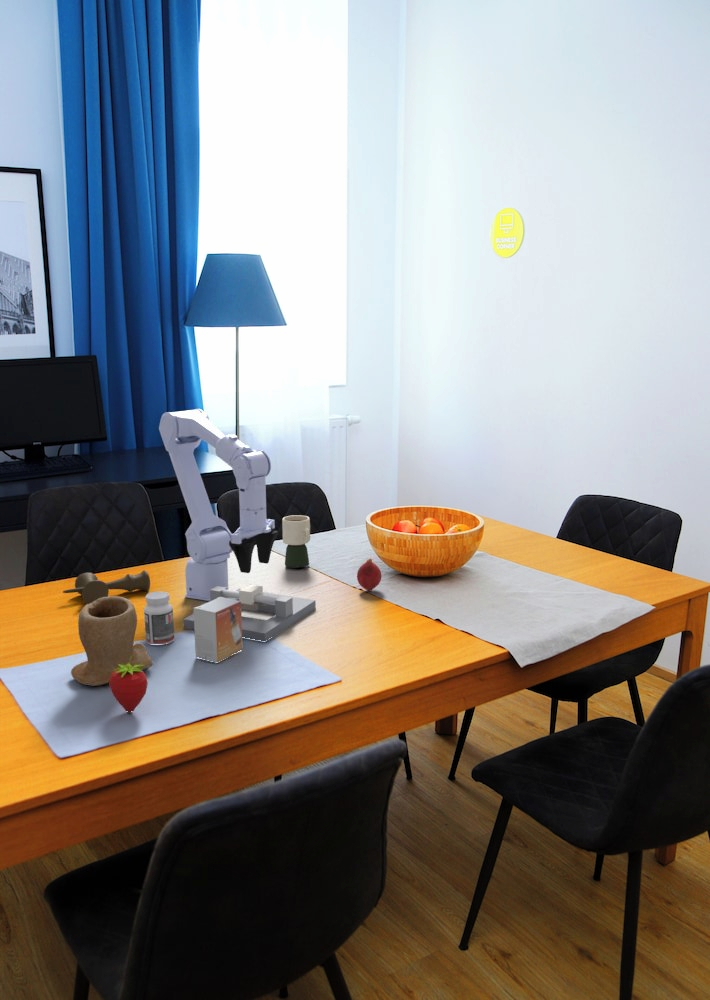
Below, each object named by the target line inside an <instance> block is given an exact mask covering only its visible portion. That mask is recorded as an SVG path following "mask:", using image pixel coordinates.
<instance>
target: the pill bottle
mask: <svg viewBox="0 0 710 1000" xmlns="http://www.w3.org/2000/svg"><path fill="white" fill-rule="evenodd" d="M170 600H171V599H170V593H169V592H167V591H162V590H161V591H152V592H148V593H147V594H146V595H145V603H146V605H145V606H144V608H143V617H144V627H145V628H144V629H145V631H144V632H145V641H147V642H146V643H147V644H148V643H149V644H148V645H150V644H166V643H169V644H171V643H173V642H174V641H173V640H175V626H174V625H175V623H174V611H173V610H174V609H173V605H172V604H171V603H170V602H169V601H170ZM172 641H173V642H172ZM170 642H171V643H170ZM166 645H167V644H166Z"/></svg>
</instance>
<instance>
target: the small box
mask: <svg viewBox="0 0 710 1000" xmlns="http://www.w3.org/2000/svg"><path fill="white" fill-rule="evenodd" d="M193 614H194V647H195V658H196V657H199V658H202V659H205V660H209V661H213V662H219V661H221V660H223V659H225V658H227V657H229V656H231V655H232V654H234V653H237V652H238V651H240V650H242V651H243V639H242V620H241V616H242V609H241V601H237V600H233V599H228V598H224V597H218V598H217V599H215V600H212V601H207V602H205V603H202V604H201V605H199V606H194V607H193ZM237 654H238V653H237ZM231 657H232V656H231ZM229 658H230V657H229ZM227 659H228V658H227ZM225 660H226V659H225ZM223 661H224V660H223ZM221 662H222V661H221ZM219 663H220V662H219Z"/></svg>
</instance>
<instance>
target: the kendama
mask: <svg viewBox="0 0 710 1000" xmlns="http://www.w3.org/2000/svg"><path fill="white" fill-rule="evenodd" d="M149 574H150V573H148V571H147V570H145V569H144V570H142V571H141V572H140V573H136V574H129V573H127V574H126V575H125V576H124V577H122V578H118V579H116V580H112V581H109V582H105V581H102V580H100V579H98V577H97V575H96V574H95V573H92V572H83V573H81V574H79V575H77V577H76V578H75V581H74V588H71V589H65V590H63V591H62V593H63V594H71V593H77V594H79V595H81V596H82V600H83V602H84V603H85V605H87V604H90V603H92V602H93V601H95V600H97V599H99V598H102V597H109V594H110V593H109V592H110V591H109V590H120V591H121V590H123V591H127V592H129V593H132V592H133V591H135V590H138V591H139V590H143V591H144V592H149V590H150V589H151V579H150V575H149Z"/></svg>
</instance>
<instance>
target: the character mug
mask: <svg viewBox="0 0 710 1000" xmlns="http://www.w3.org/2000/svg"><path fill="white" fill-rule="evenodd" d="M281 519H282V520H281V521H282V522H281V523H282V524H281V526H282V528H281V529H282V542H283V544H285V545H287V546H286V548H285V558H284V566H285V567H286V568H291V569H296V568H299V569H302V568H303V567H308V566H309V565H310V560H309V553H308V547H307V545H306V544H308V543H309V542H310V541H311V522H310V521H311V519H310V517H309V516H307V515H301V514H299V515H296V514H295V515H294V514H292V515H288V516H284V517H283V518H281Z"/></svg>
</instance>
